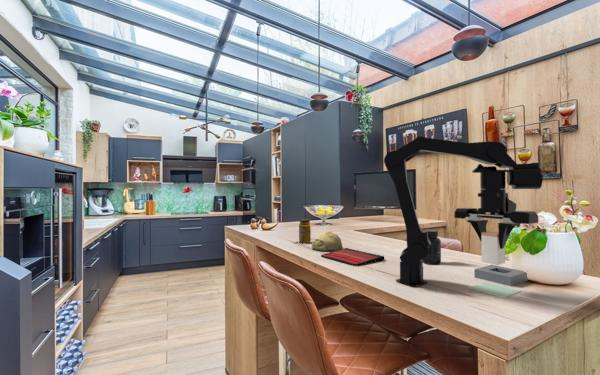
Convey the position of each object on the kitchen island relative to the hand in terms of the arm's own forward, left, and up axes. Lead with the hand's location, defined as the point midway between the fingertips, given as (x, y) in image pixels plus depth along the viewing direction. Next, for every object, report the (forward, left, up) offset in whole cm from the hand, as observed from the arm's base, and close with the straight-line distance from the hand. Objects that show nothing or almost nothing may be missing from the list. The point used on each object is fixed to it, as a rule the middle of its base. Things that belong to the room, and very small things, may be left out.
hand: (493, 247), depth 82 cm
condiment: (-3, +92, -12) cm, 92 cm away
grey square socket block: (+12, +4, -12) cm, 17 cm away
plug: (0, 0, -4) cm, 4 cm away
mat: (0, 0, -12) cm, 12 cm away
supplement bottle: (+14, +29, -12) cm, 34 cm away
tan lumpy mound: (-3, +71, -12) cm, 72 cm away
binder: (-6, +51, -13) cm, 53 cm away
